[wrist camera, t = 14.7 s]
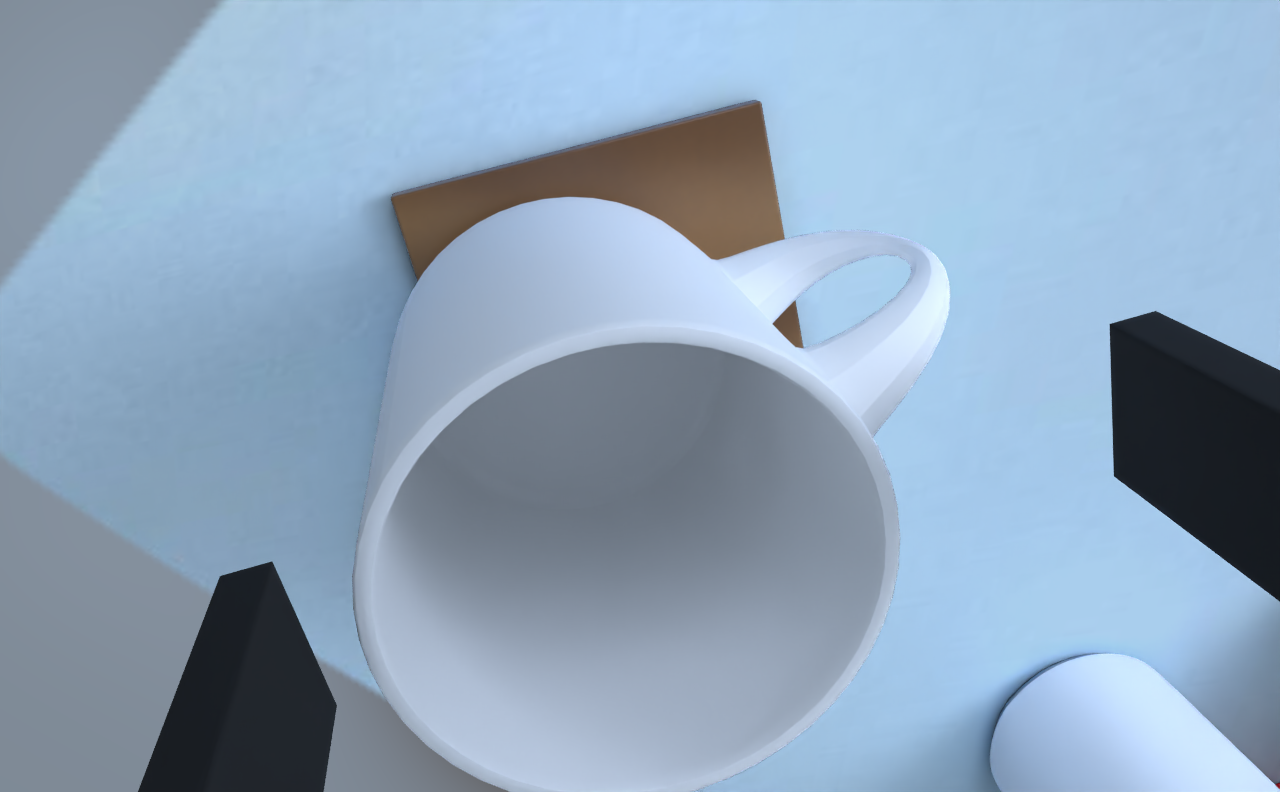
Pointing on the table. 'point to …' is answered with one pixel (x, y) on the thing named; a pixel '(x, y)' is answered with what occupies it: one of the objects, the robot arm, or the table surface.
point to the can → (1112, 735)
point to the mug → (630, 498)
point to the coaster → (627, 188)
